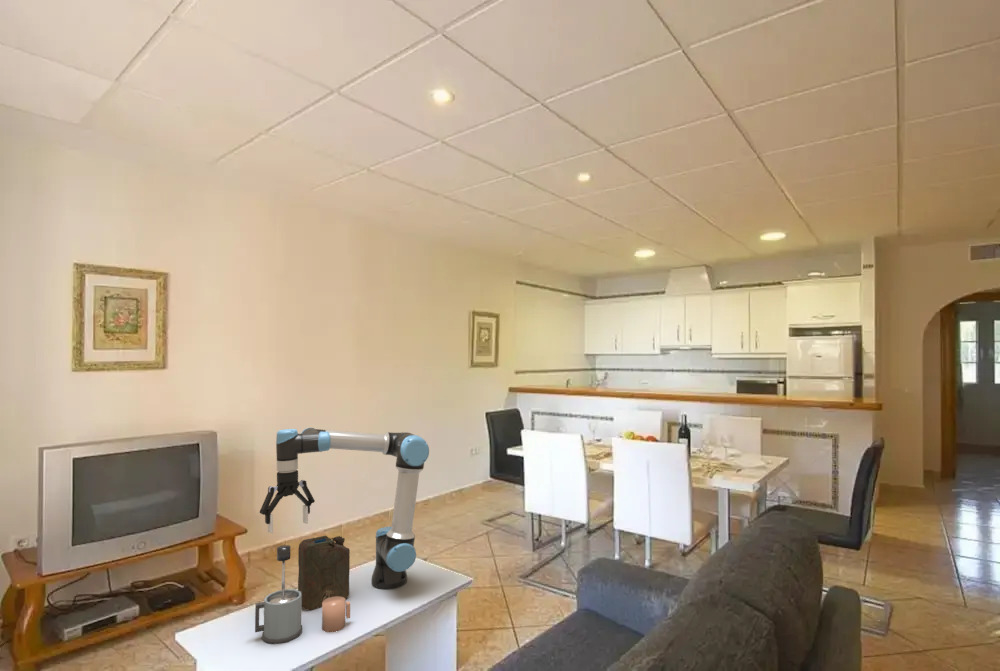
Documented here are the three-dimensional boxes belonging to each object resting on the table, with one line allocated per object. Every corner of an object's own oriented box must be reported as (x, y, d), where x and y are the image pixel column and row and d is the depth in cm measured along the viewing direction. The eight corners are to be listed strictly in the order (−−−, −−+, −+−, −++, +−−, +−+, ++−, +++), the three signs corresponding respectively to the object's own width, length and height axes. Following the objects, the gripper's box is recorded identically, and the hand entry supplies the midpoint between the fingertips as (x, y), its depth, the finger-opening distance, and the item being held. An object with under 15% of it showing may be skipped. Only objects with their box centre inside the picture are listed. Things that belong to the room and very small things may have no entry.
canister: (303, 613, 202) (304, 546, 203) (296, 605, 209) (297, 540, 210) (350, 598, 214) (351, 535, 215) (342, 591, 220) (342, 530, 222)
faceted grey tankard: (300, 622, 195) (301, 586, 196) (303, 639, 183) (304, 600, 184) (254, 631, 189) (255, 594, 189) (254, 649, 177) (255, 609, 177)
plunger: (296, 592, 193) (296, 541, 194) (297, 602, 185) (298, 549, 186) (268, 596, 189) (269, 545, 190) (269, 607, 181) (269, 553, 182)
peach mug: (347, 618, 198) (348, 593, 198) (351, 628, 190) (351, 602, 191) (320, 624, 194) (321, 598, 194) (323, 634, 186) (323, 608, 187)
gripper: (313, 463, 213) (314, 517, 212) (249, 475, 195) (250, 534, 194) (323, 466, 208) (323, 521, 207) (258, 478, 190) (258, 538, 189)
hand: (288, 527), depth 201 cm, fingers open, 13 cm apart
